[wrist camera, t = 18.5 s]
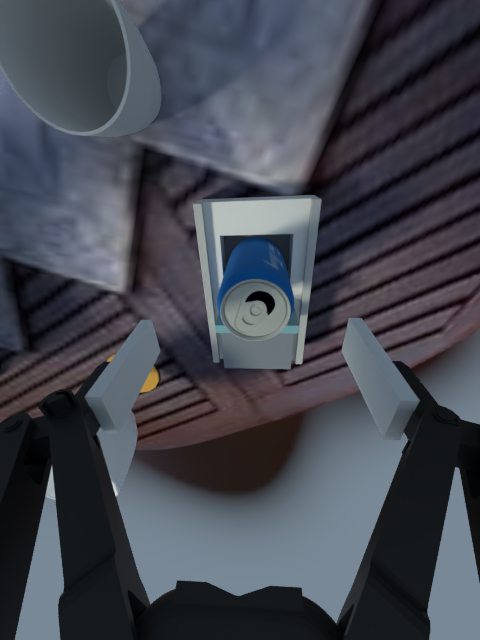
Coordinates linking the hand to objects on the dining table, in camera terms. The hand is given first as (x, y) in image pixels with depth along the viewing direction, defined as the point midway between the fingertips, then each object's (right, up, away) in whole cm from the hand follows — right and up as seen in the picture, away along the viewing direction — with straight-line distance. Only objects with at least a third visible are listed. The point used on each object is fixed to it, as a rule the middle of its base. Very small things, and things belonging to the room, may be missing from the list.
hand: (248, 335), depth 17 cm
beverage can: (+1, +8, +13) cm, 15 cm away
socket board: (+2, +6, +15) cm, 16 cm away
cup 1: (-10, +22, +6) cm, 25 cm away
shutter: (+2, -1, +15) cm, 15 cm away
